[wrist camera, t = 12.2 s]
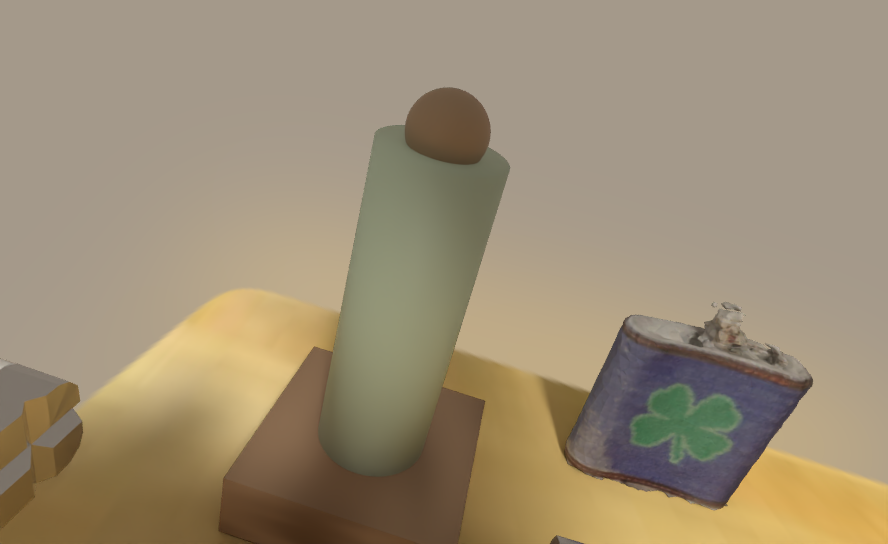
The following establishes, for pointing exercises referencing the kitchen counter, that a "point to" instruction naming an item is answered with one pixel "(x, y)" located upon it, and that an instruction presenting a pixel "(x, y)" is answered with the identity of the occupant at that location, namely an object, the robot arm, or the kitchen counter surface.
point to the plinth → (347, 477)
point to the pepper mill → (409, 280)
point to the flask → (685, 407)
